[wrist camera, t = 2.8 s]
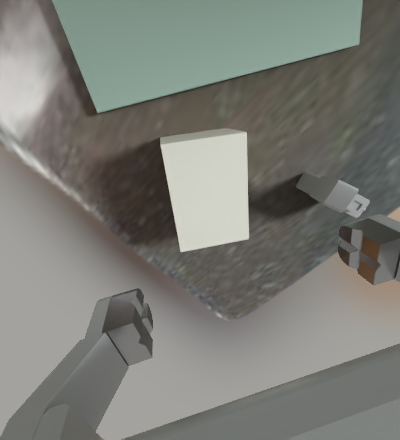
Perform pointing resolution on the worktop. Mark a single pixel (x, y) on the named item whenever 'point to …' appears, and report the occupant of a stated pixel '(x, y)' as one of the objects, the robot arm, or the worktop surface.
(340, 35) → the mat
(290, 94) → the worktop surface
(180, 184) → the card box
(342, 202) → the lighter
